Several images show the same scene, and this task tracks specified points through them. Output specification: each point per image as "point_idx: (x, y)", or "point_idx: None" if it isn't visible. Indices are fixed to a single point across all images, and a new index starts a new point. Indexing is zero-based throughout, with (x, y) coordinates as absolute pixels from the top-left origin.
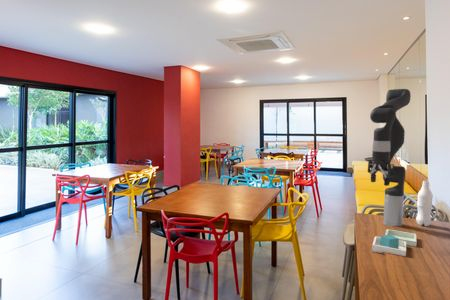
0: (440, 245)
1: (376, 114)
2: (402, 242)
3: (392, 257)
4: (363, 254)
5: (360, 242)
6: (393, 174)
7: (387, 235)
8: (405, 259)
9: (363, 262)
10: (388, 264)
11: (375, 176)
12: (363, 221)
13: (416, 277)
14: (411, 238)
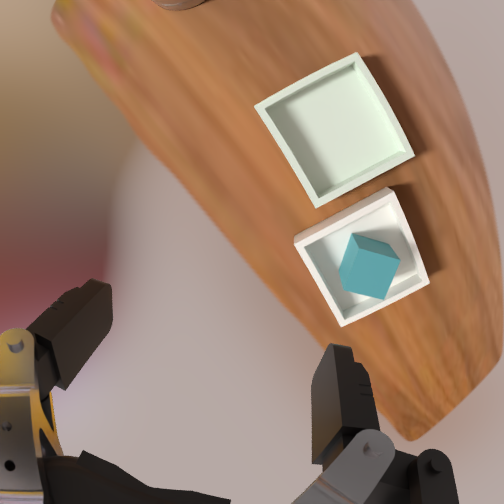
0: (425, 46)
1: None
2: (385, 202)
3: None
4: None
5: (268, 280)
6: (449, 488)
7: (358, 267)
8: None
9: None
10: (405, 345)
11: (68, 329)
12: (103, 59)
13: (463, 346)
14: (348, 75)
